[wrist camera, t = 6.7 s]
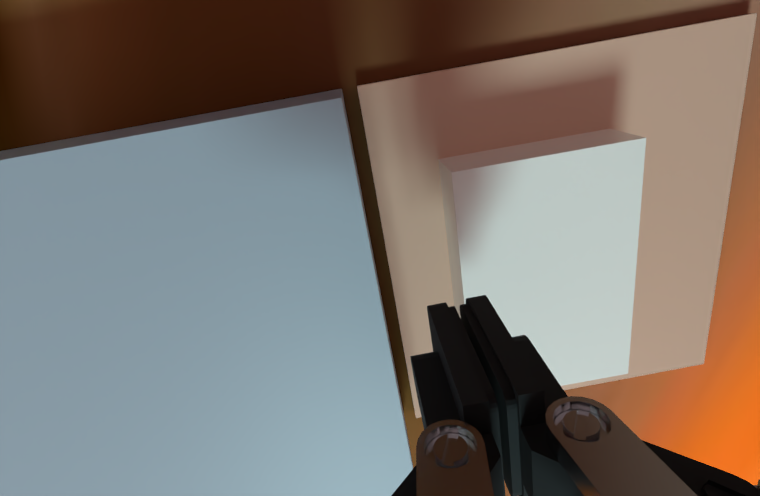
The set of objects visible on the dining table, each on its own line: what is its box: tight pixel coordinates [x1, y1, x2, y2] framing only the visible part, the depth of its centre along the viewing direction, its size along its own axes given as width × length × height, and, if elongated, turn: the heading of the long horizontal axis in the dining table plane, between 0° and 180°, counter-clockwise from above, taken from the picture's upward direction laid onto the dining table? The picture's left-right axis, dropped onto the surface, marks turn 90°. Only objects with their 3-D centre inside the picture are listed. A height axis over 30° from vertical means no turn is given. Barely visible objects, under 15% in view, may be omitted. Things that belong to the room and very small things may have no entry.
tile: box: [438, 129, 646, 386], centre depth 16 cm, size 9×6×2 cm, turn 9°
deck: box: [0, 89, 413, 496], centre depth 15 cm, size 14×14×4 cm
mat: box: [357, 13, 757, 418], centre depth 17 cm, size 14×13×1 cm
